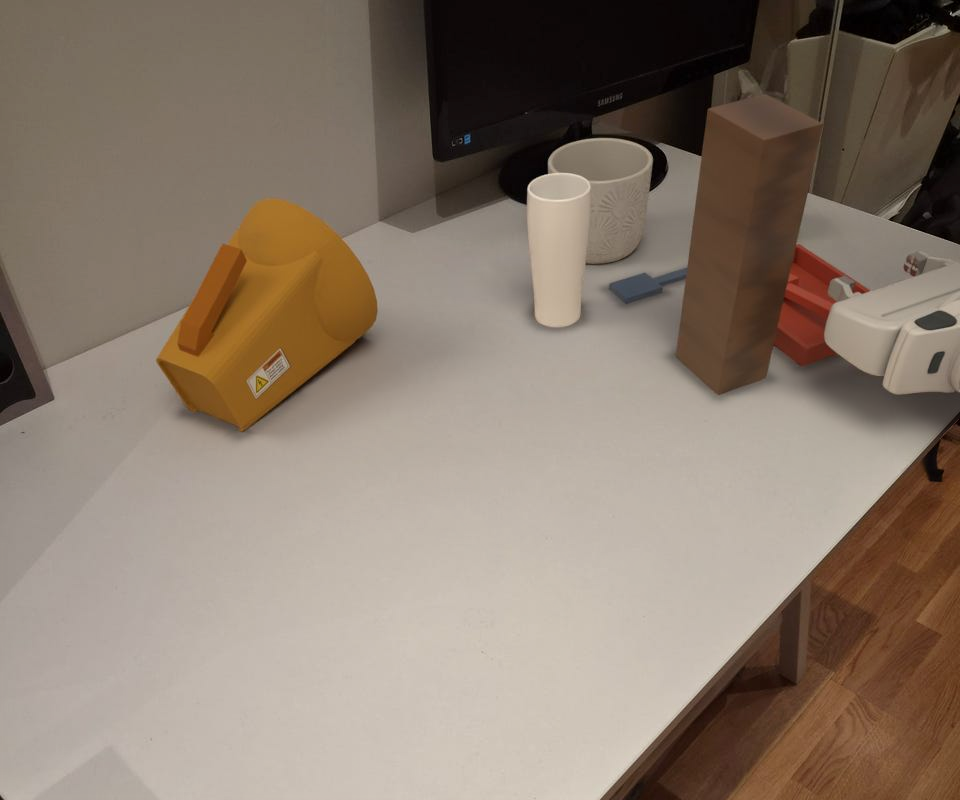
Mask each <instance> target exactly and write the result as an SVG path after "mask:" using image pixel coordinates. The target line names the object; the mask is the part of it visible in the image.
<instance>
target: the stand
mask: <svg viewBox="0 0 960 800" xmlns="http://www.w3.org/2000/svg"><path fill="white" fill-rule="evenodd" d="M823 128H824V123H823V122H821V121H819V120H817V119H816V118H813V117H812V116H809V115H807V114H806V113H803V112H802V111H800V110H797V109H796V108H794V107H791V106H790V105H788V104H786V103H784V102H782V101H780V100H778V99H776V98H774V97H772V96H770V95H768V94H766V93H762V94H758V95H755V96H751V97H747V98H744V99H740V100H736V101H732V102H729V103H725V104H720V105H716V106H713V107H710V108H708V109H707V112H706V119H705V128H704V133H703V134H704V135H703V143H702V150H701V158H700V167H699V173H698V182H697V190H696V197H695V204H694V213H693V220H692V227H691V235H690V244H689V250H688V256H687V257H688V258H687V264H686V266H687V267H686V268H687V273H686V279H685V281H684V288H683V296H682V305H681V310H680V311H681V312H680V319H679V327H678V333H677V334H678V336H677V343H676V351H675V359H677V360H678V361H679V362H680V363H681V364H682V365H684V367H686V368H687V369H688V370H689V371H690V372H691V373H692V374H694V375H695V376H696V377H697V378H698V379H699V380H700V381H701V382H702V383H703V384H705V385H706V387H708V388H709V389H710V390H711V391H713V392H714V393H715V394H716V395H717V396H720V395H723V394H726V393H728V392H731V391H734V390H737V389H740V388H742V387H743V388H744V387H746V386H748V385H750V384H755V383H756V382H759V381H763V380H765V379H767V375H768V371H769V367H770V362H771V358H772V354H773V353H772V352H773V350H774V340H775V336H776V332H777V327H778V323H779V318H780V314H781V310H782V305H783V301H784V296H785V292H786V287H787V283H788V279H789V274H790V270H791V265H792V261H793V257H794V252H795V248H796V244H798V239H799V234H800V229H801V225H802V220H803V216H804V212H805V208H806V205H807V204H806V203H807V199H808V195H809V189H810V185H811V180H812V177H813V173H814V172H813V171H814V168H815V163H816V160H817V155H818V150H819V146H820V142H821V137H822V133H823Z"/></svg>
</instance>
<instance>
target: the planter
mask: <svg viewBox="0 0 960 800" xmlns="http://www.w3.org/2000/svg"><path fill="white" fill-rule="evenodd" d="M547 159H548V160H547V174H552V173H571V174H576V175H579V176H582V177H584V178H585V179H587V180H588V181H589V182H590V184H591V220H590V232H589V240H588V248H587V256H586V264H585V265H603V264H610V263H614V262H617V261H620V260H623V259H624V258H625V257H628V256H629V255H630V254H632V253H633V252H634V251H635V250H636V248H637V247H638V245H639V243H640V242H641V239H642V237H643V233H644V229H645V225H646V218H647V212H648V205H649V196H650V190H651V189H650V188H651V178H652V171H653V163H654V158H653V155H652V152H650V150H649V149H648V148H646V147H645V146H643V145H642V144H639V143H637V142H634V141H631V140H626V139H621V138H615V137H614V138H613V137H595V138H586V139H581V140H576V141H572V142H569V143H566V144H563V145H562V146H560V147H558V148H556V149H555V150H554V151H552V153H551V154H550V156H549V157H548V158H547Z"/></svg>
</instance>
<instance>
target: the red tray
mask: <svg viewBox="0 0 960 800" xmlns="http://www.w3.org/2000/svg"><path fill="white" fill-rule="evenodd" d="M790 274H792V275H794V276H796V277H799V284H798V287H800V288H802V289H804V290H806V291H808V292H810V293H812V294H814V295H816V296H818V297H820V298H822V299H824V300H826V301H828V302H830V303H832V304H834V303H836V301H835V300H834V299H832V298H831V297H829V295H828V288H829V285H830V281H831V280H832V279H835V278H839V277H842V276H847V277H848V279H851V280H853V281H854V282H855V284H854V288H853V289H852V293H853V294H854V293H856V292H859V293H861V294H864V293H867V292H870V291H871V289H869V288H867V287H866V286H864V285H863V284H861V283H860V282H859V281H857V280H855V279H854V278H852V277H850V276H848V275H847V274H846V273H845V272H843V271H841V270H840V269H838V268H837V267H835V266H834V265H833V264H831V263H829V262H828V261H827V260H825V259H823V258H821V257H820V256H819V255H817V254H815V253H814V252H812V251H810V250H809V249H807V248H806V247H805V246H803V245H801V244H800V243H796V248H795V252H794V257H793V261H792V265H791V270H790ZM826 322H827V318H825V317H823V316H821V315H819V314H817V313H815V312H813V311H811V310H809V309H807V308H805V307H803V306H801V305H799V304H797V303H795V302H793V301H791V300H789V299H787V298H785V297H784V301H783V305H782V310H781V314H780V318H779V323H778V327H777V332H776V336H775V340H774V345H773V347H776V348H777V349H778V350H779V351H781V352H782V353H783V354H785V355H786V356H787V357H788V358H790V359H791V360H792V361H794V362H795V363H797V365H799V366H800V367H804V366H807V365H811V364H812V363H815V362H818V361H821V360H824V359H827V358H830V357H833V356H835V355H839V354H838V353H836V352H835V351H834V350H833V349H831V348H830V347H829V346H828V345H827V344H826V342H825V339H824V331H825V326H826Z"/></svg>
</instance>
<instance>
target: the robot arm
mask: <svg viewBox="0 0 960 800" xmlns="http://www.w3.org/2000/svg"><path fill="white" fill-rule="evenodd" d="M903 271H904V272H905V273H907V274H909V275H910V276H912V277H909V278H906V279H903V280H899V281H897V282H893V283H891V284H888V285H885V286H881V287H879V288H876V289H872V290H870V292H867V293H864V294H861V293H859V292H856V293H854V294H853V293H852V289H853V288H854V284H855V282H854V281H853V280H854V279H853V280H851V279H848V277H847V276H848V275H847V276H842V277H839V278H835V279H832V280H831V281H830V285H829V288H828V295H829V297H831V298H832V299H834V300H835V301H836V303H834V304H833V305H832V307H831V309H830V312H829V315H828V318H827V322H826V326H825V331H824V339H825V342H826V344H827V345H828V346H829V347H830V348H831V349H833V350H834V351H835V352H836V353H838V354H837V355H839V356H840V357H841V358H842V359H844V360H845V361H847V362H848V363H850V364H851V365H853V366H854V367H856V368H857V369H859V370H860V371H862V372H864V373H866V374H869V375H872V376H876V377H883V379H882V387H883V388H884V389H885V390H886V391H888V392H889V393H891V394H893V395H907V394H908V395H909V394H918V393H949V394H950V393H955V392H957V393H959V394H960V261H957V260H955V259H952V258H945V257H940V256H932V255H930V254H928V253H926V252H925V251H923V250H919V251H916V252H914V253H910V254H908V255H907V256H906V258H905V262H904V264H903Z"/></svg>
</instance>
